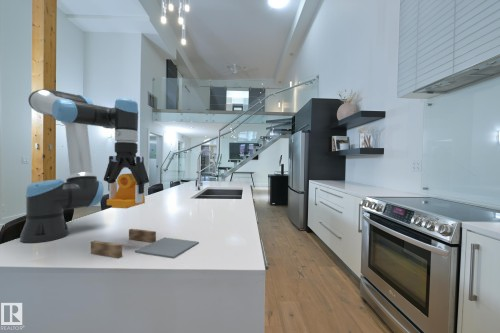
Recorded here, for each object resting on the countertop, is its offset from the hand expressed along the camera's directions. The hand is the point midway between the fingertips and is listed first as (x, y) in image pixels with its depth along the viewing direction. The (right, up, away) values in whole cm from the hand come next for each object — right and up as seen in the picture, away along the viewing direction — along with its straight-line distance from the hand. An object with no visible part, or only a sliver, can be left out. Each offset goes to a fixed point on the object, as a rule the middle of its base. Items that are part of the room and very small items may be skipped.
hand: (125, 201), depth 89 cm
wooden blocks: (0, -17, 0) cm, 17 cm away
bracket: (0, -2, 0) cm, 2 cm away
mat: (+16, -17, 0) cm, 23 cm away
